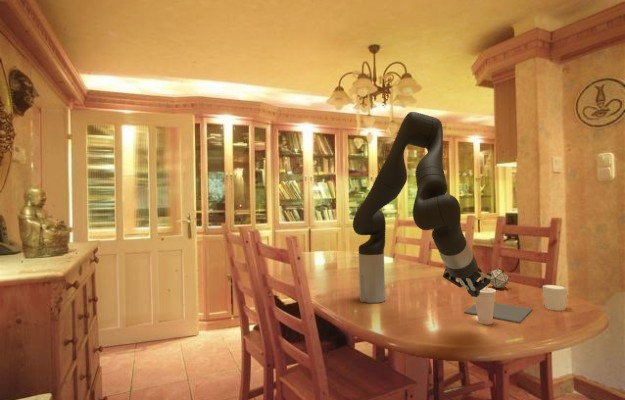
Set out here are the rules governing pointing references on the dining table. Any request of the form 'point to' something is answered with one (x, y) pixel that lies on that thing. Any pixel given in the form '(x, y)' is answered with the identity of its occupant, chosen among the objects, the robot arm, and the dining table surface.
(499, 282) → the game die
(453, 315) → the dining table surface
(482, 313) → the smoothie
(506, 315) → the mat
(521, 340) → the dining table surface
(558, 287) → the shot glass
